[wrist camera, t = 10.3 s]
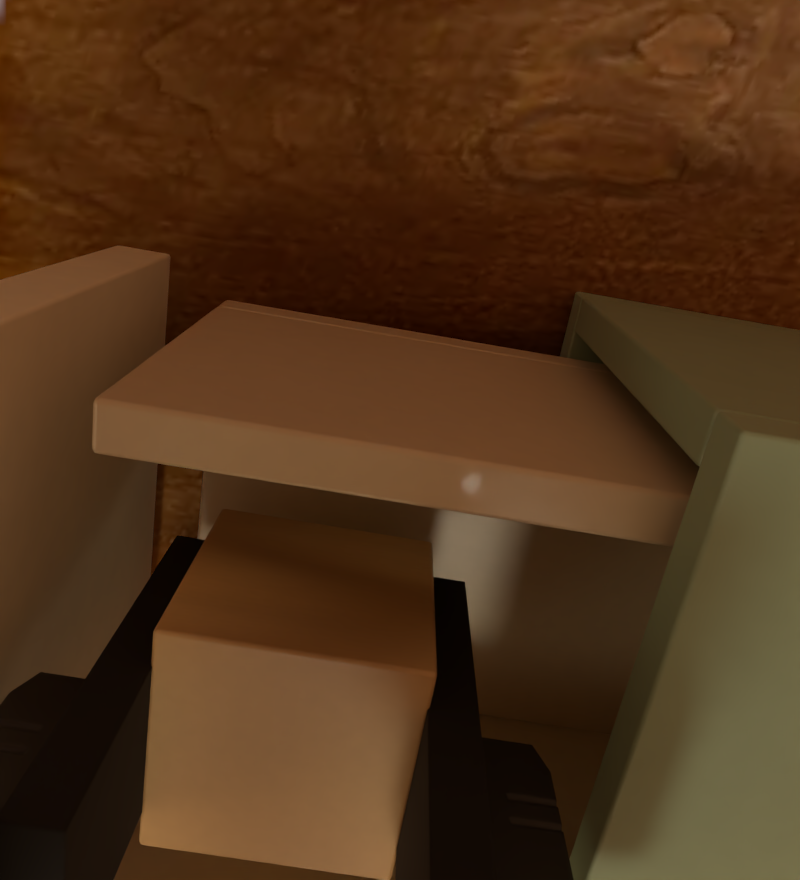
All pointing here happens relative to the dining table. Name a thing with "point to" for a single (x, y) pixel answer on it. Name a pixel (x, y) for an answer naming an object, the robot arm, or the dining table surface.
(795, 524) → the cabinet
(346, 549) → the block
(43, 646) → the drawer
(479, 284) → the dining table surface
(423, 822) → the robot arm
